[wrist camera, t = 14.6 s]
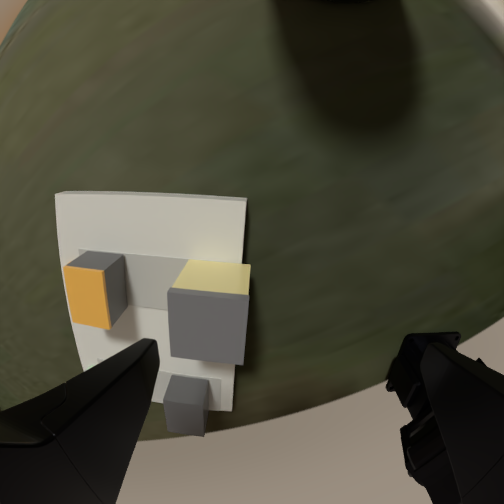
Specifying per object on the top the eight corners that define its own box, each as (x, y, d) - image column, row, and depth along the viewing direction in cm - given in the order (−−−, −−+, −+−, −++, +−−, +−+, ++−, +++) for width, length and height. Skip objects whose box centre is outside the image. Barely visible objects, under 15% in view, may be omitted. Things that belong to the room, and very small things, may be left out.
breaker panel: (247, 198, 20) (245, 202, 18) (232, 399, 26) (231, 413, 24) (65, 191, 20) (52, 194, 18) (94, 376, 25) (87, 387, 24)
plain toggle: (208, 379, 23) (202, 405, 20) (208, 411, 24) (204, 436, 21) (171, 374, 23) (162, 400, 20) (175, 406, 24) (168, 431, 21)
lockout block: (251, 263, 20) (249, 300, 15) (246, 319, 21) (243, 365, 16) (188, 258, 20) (167, 292, 15) (188, 313, 21) (170, 356, 16)
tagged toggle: (123, 254, 19) (101, 272, 16) (127, 306, 21) (109, 329, 18) (87, 250, 19) (63, 267, 16) (93, 300, 21) (72, 322, 18)
